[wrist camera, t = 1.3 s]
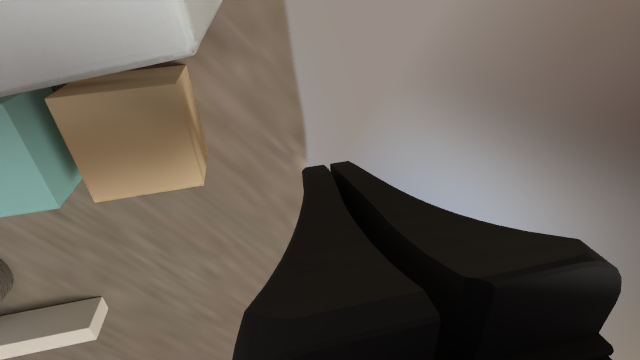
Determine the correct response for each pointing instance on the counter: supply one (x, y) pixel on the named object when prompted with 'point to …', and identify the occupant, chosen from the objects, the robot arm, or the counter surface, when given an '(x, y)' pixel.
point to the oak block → (133, 131)
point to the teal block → (33, 156)
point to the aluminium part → (5, 280)
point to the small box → (94, 38)
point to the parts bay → (51, 327)
